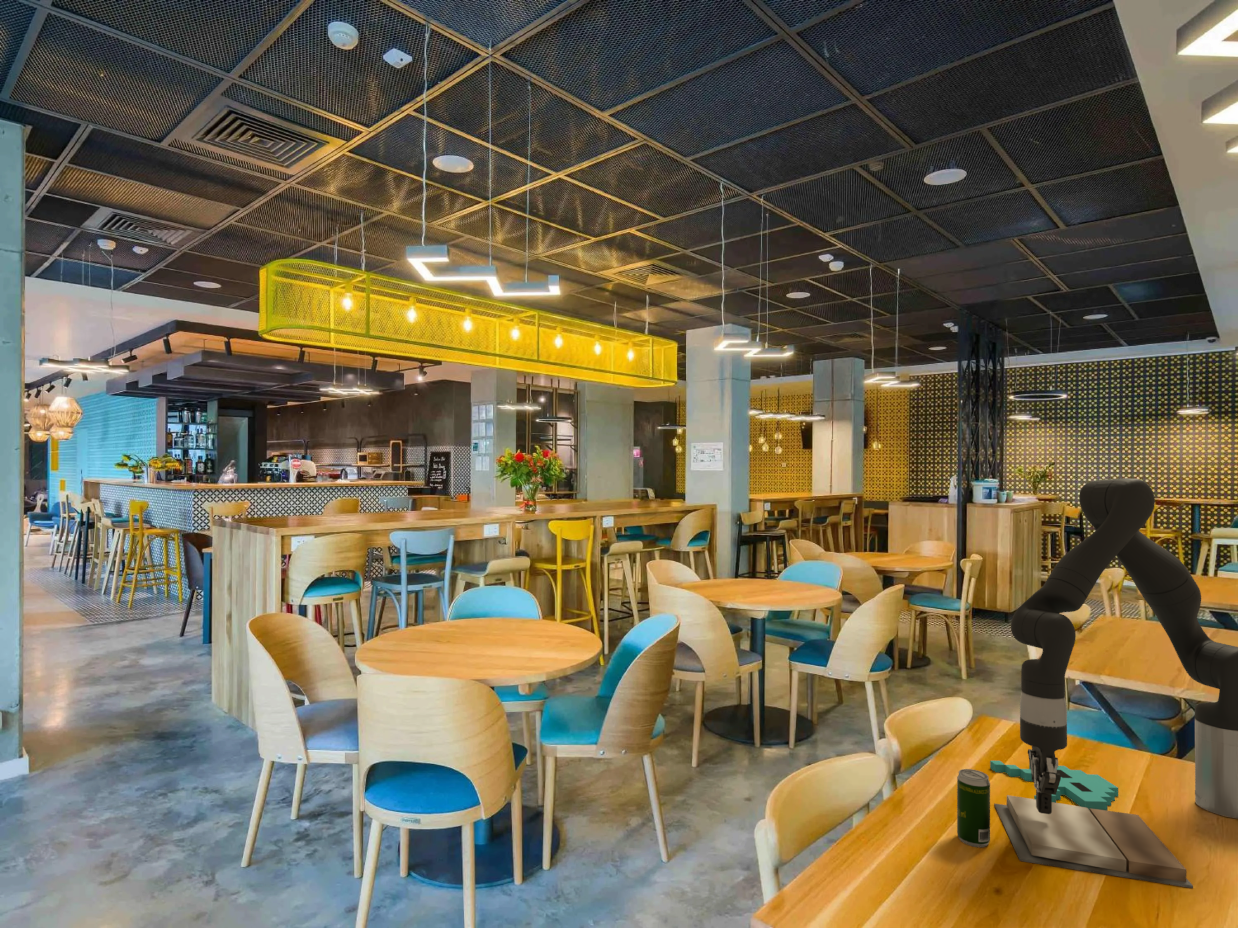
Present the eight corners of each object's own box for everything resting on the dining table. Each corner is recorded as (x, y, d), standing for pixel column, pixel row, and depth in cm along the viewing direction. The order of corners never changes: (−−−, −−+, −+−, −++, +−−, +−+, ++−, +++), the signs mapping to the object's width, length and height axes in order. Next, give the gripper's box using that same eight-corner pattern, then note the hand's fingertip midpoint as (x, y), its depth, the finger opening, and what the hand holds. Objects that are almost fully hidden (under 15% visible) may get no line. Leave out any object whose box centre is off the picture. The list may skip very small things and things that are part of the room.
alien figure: (1040, 811, 142) (1141, 813, 141) (1040, 800, 142) (1141, 802, 141) (990, 770, 162) (1078, 771, 161) (990, 760, 162) (1078, 762, 161)
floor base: (1139, 825, 135) (1138, 812, 135) (1193, 887, 114) (1192, 872, 114) (994, 805, 143) (994, 793, 143) (1019, 860, 122) (1019, 846, 122)
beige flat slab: (1086, 817, 137) (1087, 807, 137) (1126, 871, 118) (1126, 859, 118) (1006, 804, 141) (1006, 794, 141) (1031, 854, 122) (1032, 843, 122)
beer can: (996, 844, 127) (996, 777, 128) (976, 850, 125) (976, 782, 125) (970, 830, 132) (970, 766, 132) (950, 836, 130) (950, 771, 130)
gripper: (1077, 732, 124) (1078, 831, 123) (1055, 708, 136) (1056, 799, 136) (1029, 727, 126) (1030, 825, 125) (1012, 704, 138) (1013, 793, 138)
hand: (1043, 811), depth 131 cm, fingers closed
